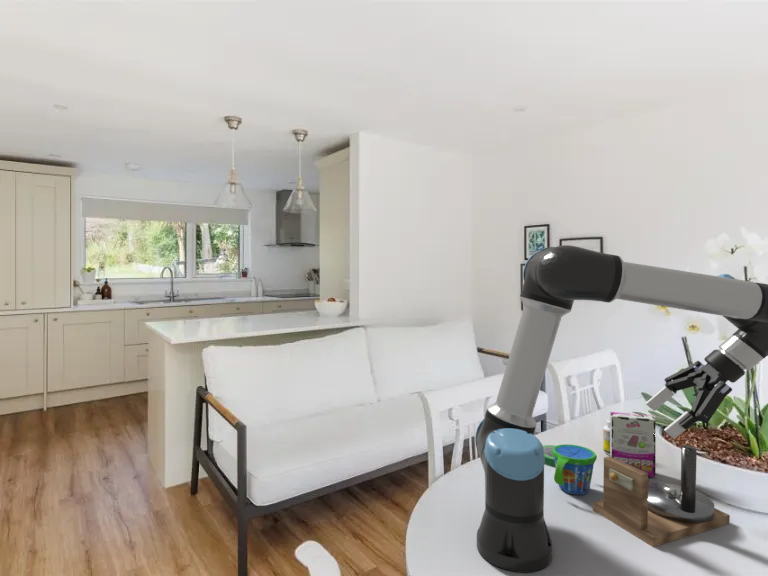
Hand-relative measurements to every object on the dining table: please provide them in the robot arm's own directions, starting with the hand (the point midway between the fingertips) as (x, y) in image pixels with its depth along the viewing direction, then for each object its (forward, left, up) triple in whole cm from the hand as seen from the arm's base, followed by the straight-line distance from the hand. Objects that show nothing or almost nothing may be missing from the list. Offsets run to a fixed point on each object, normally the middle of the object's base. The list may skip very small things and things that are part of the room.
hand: (658, 420), depth 112 cm
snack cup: (-12, +14, -22) cm, 29 cm away
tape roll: (-3, +31, -22) cm, 38 cm away
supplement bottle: (+17, +28, -22) cm, 39 cm away
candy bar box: (+11, +16, -22) cm, 29 cm away
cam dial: (0, -4, -19) cm, 19 cm away
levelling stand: (-4, -4, -21) cm, 22 cm away
